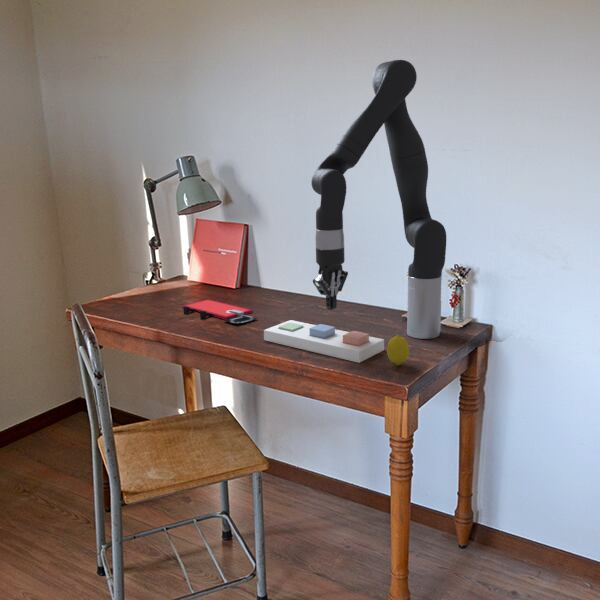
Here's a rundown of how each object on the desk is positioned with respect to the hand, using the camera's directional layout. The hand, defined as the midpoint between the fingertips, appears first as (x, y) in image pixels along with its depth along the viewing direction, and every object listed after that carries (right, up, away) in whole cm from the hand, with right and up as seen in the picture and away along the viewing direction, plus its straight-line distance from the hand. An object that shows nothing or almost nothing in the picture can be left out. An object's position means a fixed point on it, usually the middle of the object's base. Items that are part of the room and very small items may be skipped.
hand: (331, 308), depth 191 cm
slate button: (-2, -8, +3) cm, 9 cm away
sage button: (-11, -7, +10) cm, 17 cm away
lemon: (+16, -14, -13) cm, 25 cm away
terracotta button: (+6, -9, -3) cm, 12 cm away
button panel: (-2, -10, +4) cm, 11 cm away
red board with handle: (-34, -3, +36) cm, 50 cm away
